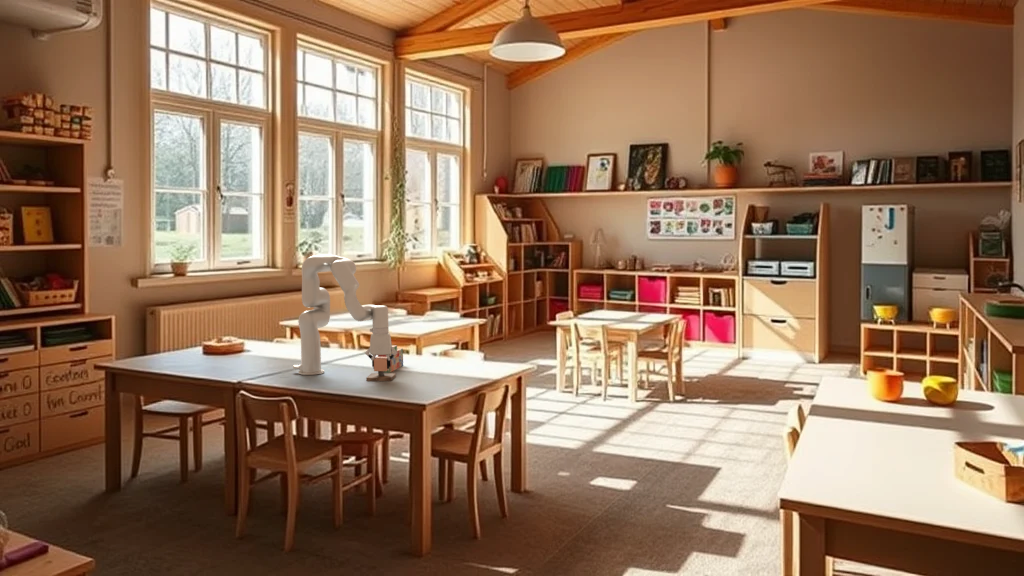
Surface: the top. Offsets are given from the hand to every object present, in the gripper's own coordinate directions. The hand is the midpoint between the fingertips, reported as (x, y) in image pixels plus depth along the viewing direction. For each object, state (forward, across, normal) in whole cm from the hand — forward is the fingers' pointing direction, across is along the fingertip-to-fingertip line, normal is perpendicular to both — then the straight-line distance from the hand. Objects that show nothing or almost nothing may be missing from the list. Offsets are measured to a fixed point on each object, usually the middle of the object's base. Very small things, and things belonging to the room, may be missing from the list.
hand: (381, 367), depth 396 cm
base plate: (+5, 0, 0) cm, 5 cm away
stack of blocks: (+5, 0, +27) cm, 28 cm away
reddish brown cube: (+1, 0, 0) cm, 1 cm away
